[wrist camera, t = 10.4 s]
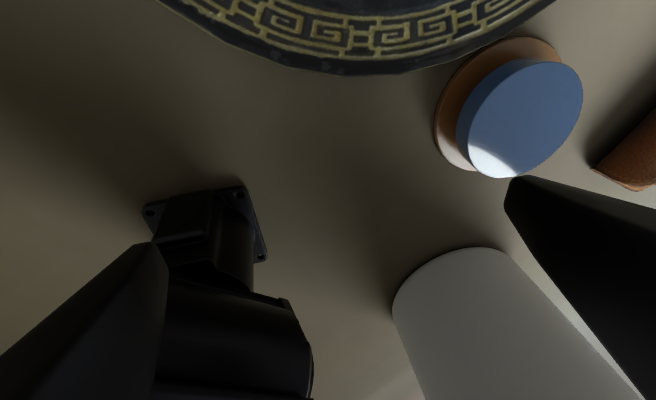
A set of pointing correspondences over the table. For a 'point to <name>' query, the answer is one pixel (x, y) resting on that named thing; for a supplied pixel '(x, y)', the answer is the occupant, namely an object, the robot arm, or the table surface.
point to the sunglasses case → (633, 158)
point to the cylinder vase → (495, 335)
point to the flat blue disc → (518, 116)
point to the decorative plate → (357, 30)
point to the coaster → (470, 78)
